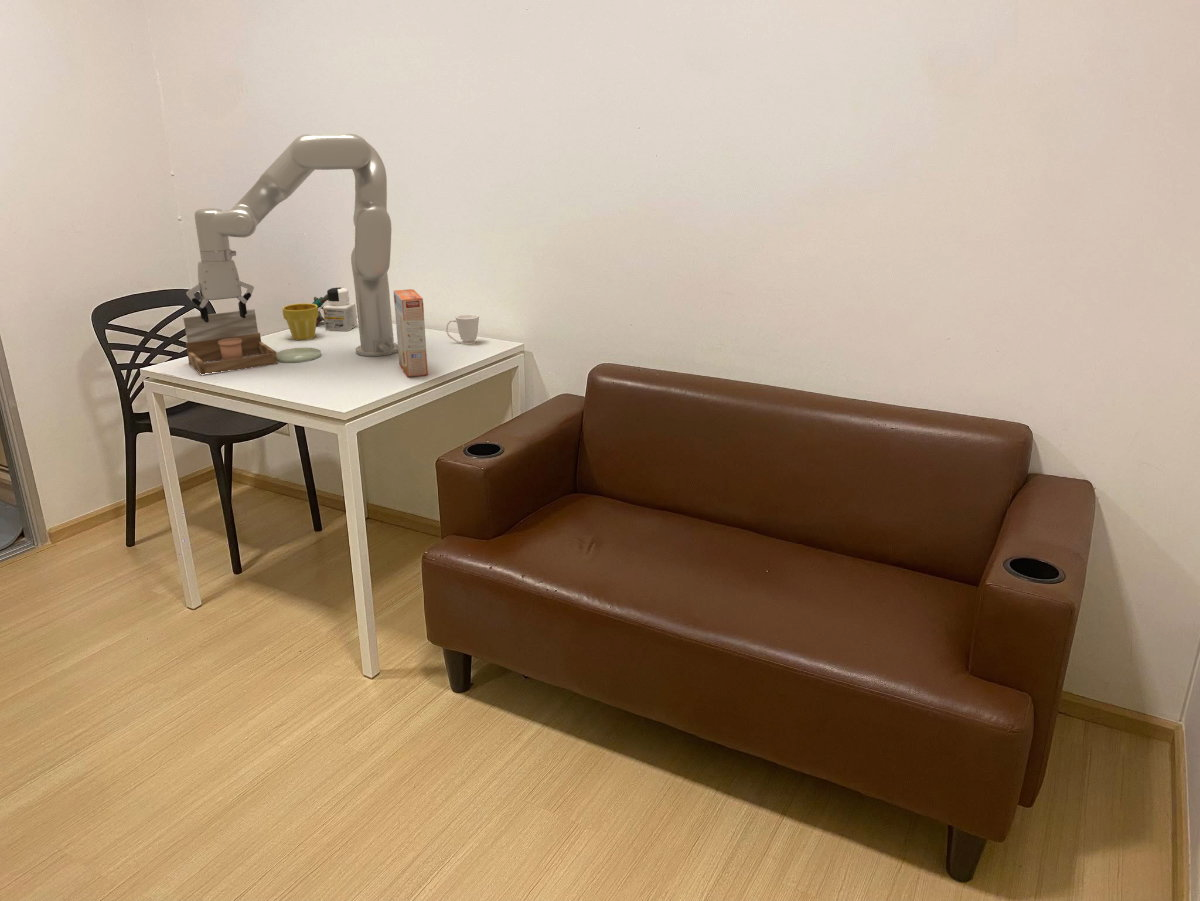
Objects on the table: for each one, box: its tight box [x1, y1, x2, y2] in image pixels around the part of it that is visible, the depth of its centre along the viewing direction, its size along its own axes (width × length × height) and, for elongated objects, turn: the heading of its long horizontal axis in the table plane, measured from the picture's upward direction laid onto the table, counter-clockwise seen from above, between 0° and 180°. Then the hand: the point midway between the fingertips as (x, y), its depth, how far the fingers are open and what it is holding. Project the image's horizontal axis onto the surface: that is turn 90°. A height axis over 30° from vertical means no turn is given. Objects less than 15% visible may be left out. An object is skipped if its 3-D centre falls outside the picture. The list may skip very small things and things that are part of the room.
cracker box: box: [393, 289, 429, 378], centre depth 237 cm, size 14×6×21 cm, turn 21°
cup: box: [446, 313, 480, 345], centre depth 267 cm, size 7×10×8 cm
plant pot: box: [282, 302, 319, 341], centre depth 275 cm, size 10×10×10 cm
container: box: [322, 287, 358, 332], centre depth 285 cm, size 8×8×13 cm
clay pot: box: [218, 338, 244, 361], centre depth 247 cm, size 6×6×7 cm
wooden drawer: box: [182, 308, 279, 375], centre depth 246 cm, size 15×20×13 cm
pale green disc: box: [276, 347, 322, 364], centre depth 255 cm, size 13×13×1 cm
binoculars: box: [311, 294, 328, 327], centre depth 292 cm, size 9×9×10 cm
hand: (224, 319), depth 244 cm, fingers open, 9 cm apart
